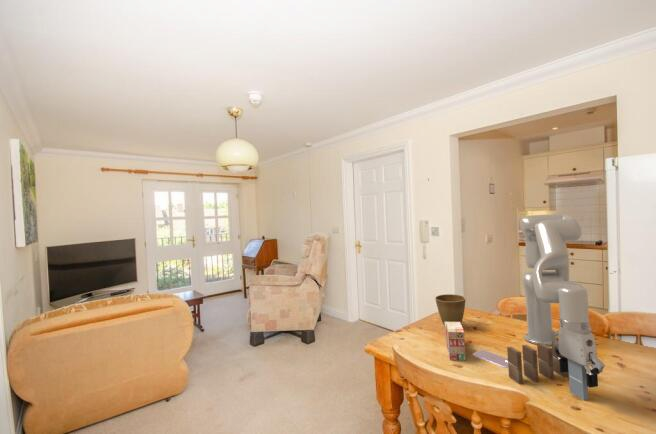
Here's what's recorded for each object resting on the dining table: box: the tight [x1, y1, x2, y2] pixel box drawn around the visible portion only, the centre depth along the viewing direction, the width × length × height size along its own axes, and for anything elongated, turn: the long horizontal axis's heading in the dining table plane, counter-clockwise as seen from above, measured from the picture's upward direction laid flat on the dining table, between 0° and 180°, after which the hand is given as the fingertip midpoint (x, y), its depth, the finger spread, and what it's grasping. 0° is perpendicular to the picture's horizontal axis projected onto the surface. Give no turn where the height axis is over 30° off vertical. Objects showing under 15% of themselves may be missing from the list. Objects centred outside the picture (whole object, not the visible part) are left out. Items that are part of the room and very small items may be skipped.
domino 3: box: [536, 343, 555, 381], centre depth 115 cm, size 2×5×11 cm, turn 7°
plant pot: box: [434, 293, 466, 325], centre depth 168 cm, size 15×15×16 cm
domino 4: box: [551, 341, 569, 379], centre depth 116 cm, size 2×5×11 cm, turn 7°
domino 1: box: [506, 346, 524, 385], centre depth 113 cm, size 2×5×11 cm, turn 7°
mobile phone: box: [471, 349, 508, 368], centre depth 131 cm, size 8×1×15 cm
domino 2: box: [521, 344, 540, 383], centre depth 114 cm, size 2×5×11 cm, turn 7°
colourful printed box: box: [443, 322, 467, 362], centre depth 141 cm, size 21×6×12 cm, turn 165°
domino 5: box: [568, 359, 589, 401], centre depth 102 cm, size 2×5×11 cm, turn 7°
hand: (578, 378), depth 102 cm, fingers open, 9 cm apart
